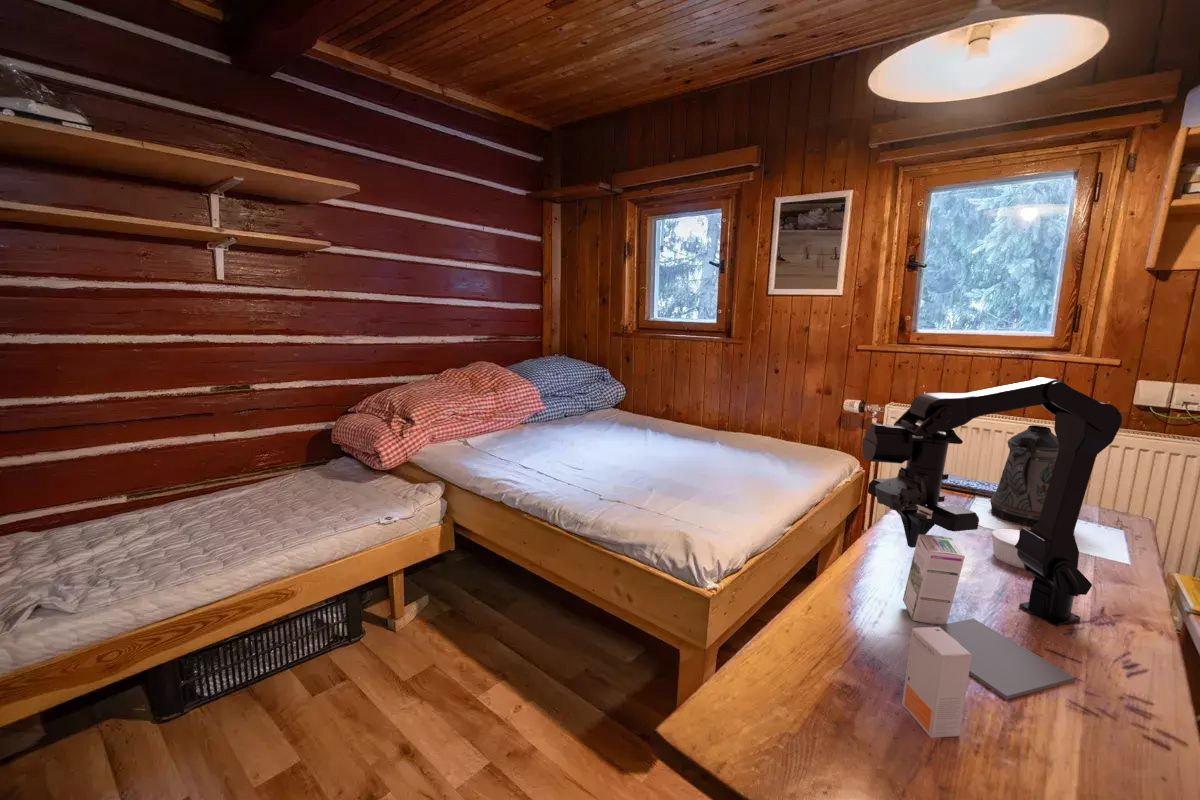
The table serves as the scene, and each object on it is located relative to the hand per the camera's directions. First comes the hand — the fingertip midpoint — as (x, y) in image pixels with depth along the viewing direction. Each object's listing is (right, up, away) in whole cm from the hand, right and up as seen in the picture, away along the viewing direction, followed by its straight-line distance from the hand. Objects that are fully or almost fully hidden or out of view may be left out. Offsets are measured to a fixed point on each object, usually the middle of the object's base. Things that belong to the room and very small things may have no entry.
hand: (911, 546), depth 98 cm
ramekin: (+36, -9, +21) cm, 43 cm away
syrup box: (+1, -12, -1) cm, 12 cm away
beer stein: (+57, -5, +45) cm, 73 cm away
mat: (+5, -14, -12) cm, 19 cm away
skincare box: (-13, -16, -26) cm, 33 cm away
